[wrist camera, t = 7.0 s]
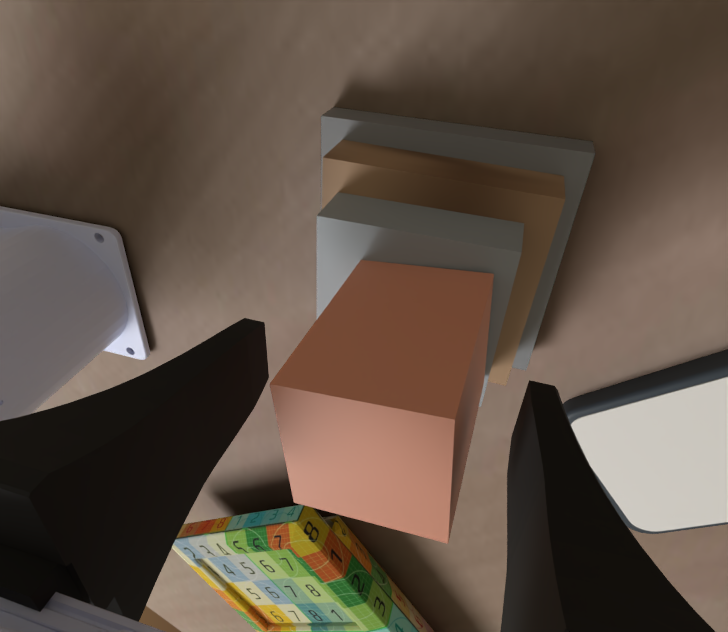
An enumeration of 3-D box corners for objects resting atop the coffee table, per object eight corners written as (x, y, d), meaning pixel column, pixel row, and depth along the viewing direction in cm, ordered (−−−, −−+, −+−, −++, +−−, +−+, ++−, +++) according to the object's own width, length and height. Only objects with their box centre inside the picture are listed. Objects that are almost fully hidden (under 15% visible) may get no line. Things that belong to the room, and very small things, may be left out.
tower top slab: (334, 335, 20) (316, 367, 19) (338, 191, 17) (316, 215, 15) (486, 370, 19) (480, 406, 18) (524, 223, 16) (521, 252, 14)
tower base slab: (335, 300, 25) (320, 324, 23) (339, 102, 19) (321, 115, 18) (527, 341, 23) (526, 370, 21) (590, 135, 18) (595, 153, 16)
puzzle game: (323, 709, 40) (156, 552, 33) (342, 646, 44) (195, 493, 37) (458, 721, 35) (290, 535, 27) (467, 647, 38) (321, 466, 31)
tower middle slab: (334, 312, 22) (318, 339, 21) (342, 139, 18) (322, 157, 16) (509, 353, 21) (505, 385, 19) (563, 176, 17) (565, 199, 15)
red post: (367, 362, 18) (294, 502, 13) (361, 259, 16) (269, 384, 11) (484, 381, 17) (447, 543, 12) (494, 273, 15) (454, 419, 10)
